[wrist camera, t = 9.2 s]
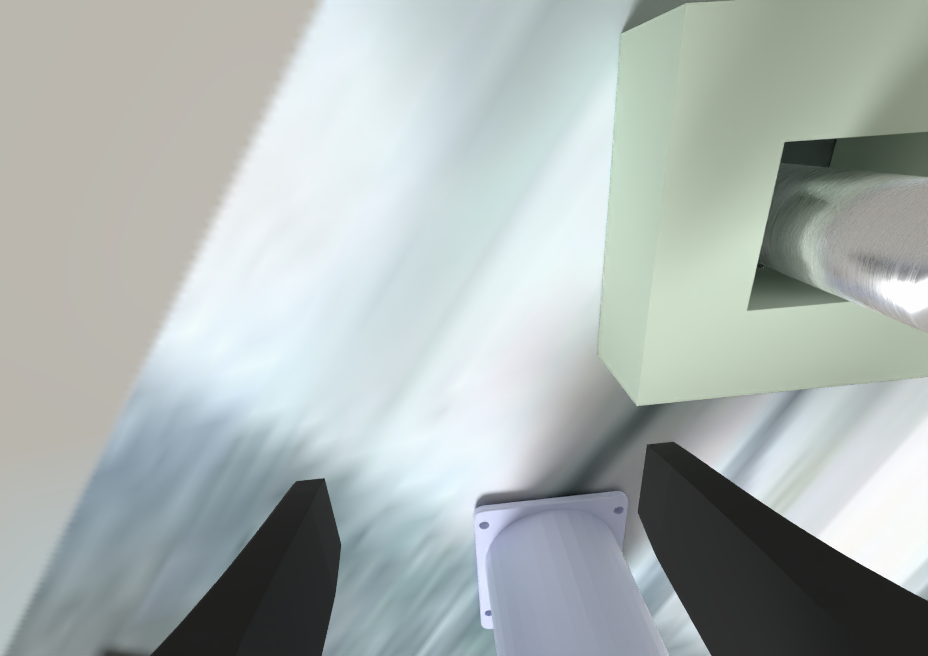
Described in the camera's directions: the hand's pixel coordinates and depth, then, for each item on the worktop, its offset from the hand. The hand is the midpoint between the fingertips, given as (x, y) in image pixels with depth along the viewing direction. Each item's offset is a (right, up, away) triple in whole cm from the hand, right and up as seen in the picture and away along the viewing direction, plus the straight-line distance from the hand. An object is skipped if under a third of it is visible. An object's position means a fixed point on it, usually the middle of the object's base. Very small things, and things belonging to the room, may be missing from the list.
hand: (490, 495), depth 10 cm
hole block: (+11, +9, +7) cm, 16 cm away
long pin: (+11, +8, +8) cm, 16 cm away
